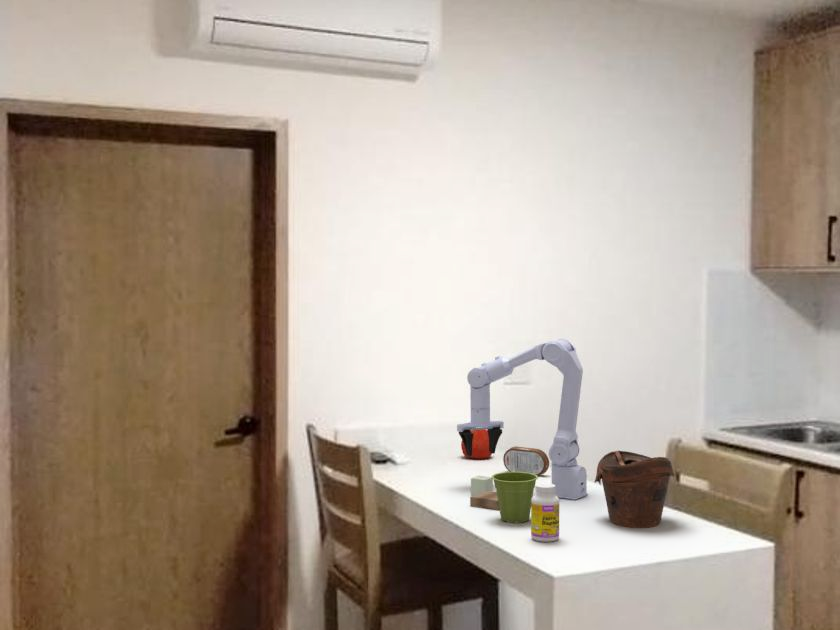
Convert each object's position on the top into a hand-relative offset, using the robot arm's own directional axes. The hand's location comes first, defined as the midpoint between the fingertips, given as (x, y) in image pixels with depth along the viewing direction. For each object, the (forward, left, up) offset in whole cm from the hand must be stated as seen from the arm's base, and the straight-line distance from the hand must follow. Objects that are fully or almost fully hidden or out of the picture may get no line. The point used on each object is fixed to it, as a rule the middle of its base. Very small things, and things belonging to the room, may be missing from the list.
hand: (480, 454), depth 294 cm
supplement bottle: (-42, +40, -10) cm, 59 cm away
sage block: (-5, +8, -10) cm, 14 cm away
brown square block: (-14, +17, -10) cm, 24 cm away
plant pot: (-27, +28, -10) cm, 40 cm away
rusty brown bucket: (-53, +13, -10) cm, 56 cm away
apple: (+26, -40, -10) cm, 49 cm away
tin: (-2, -24, -10) cm, 26 cm away
